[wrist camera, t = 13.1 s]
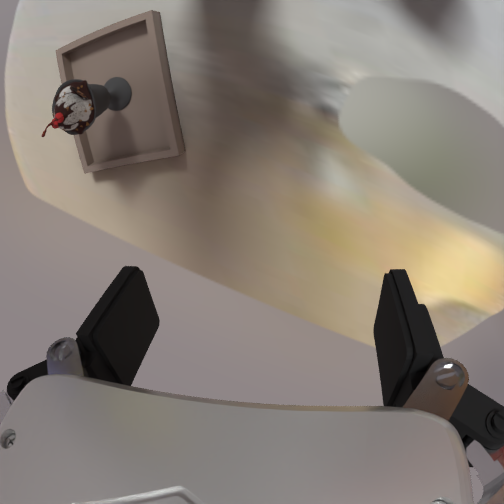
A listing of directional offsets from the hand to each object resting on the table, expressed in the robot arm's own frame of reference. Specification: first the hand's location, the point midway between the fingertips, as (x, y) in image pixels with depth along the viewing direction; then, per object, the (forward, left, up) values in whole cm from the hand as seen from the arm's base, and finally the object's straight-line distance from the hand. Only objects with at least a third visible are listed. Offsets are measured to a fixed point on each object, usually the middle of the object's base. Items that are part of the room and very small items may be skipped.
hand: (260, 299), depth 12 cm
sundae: (-9, -22, -31) cm, 39 cm away
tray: (-9, -22, -32) cm, 40 cm away
